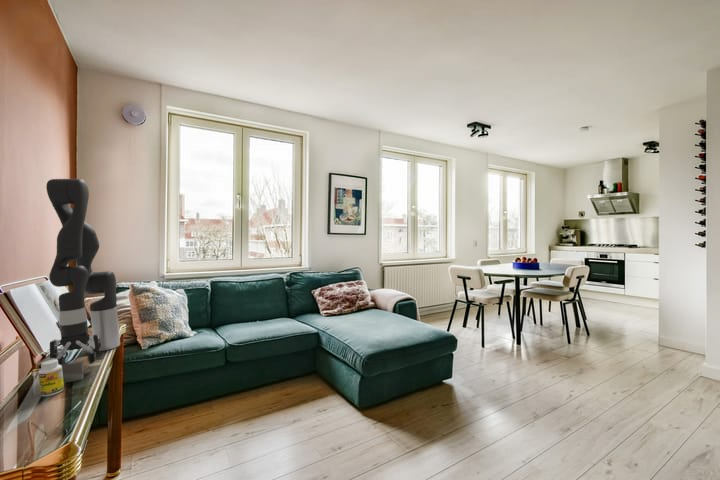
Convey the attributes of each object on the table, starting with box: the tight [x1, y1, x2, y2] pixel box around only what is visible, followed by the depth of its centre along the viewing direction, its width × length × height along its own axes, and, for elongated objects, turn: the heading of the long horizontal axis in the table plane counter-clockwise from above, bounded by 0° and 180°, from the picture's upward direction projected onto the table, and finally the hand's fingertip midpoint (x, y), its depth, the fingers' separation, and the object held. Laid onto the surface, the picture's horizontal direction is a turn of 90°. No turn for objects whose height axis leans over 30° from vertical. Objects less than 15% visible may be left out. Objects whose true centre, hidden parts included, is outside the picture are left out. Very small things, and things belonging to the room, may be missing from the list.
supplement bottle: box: [38, 358, 65, 397], centre depth 108 cm, size 6×6×10 cm
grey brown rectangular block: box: [61, 355, 90, 384], centre depth 121 cm, size 13×7×6 cm, turn 23°
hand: (77, 365), depth 122 cm, fingers open, 8 cm apart
